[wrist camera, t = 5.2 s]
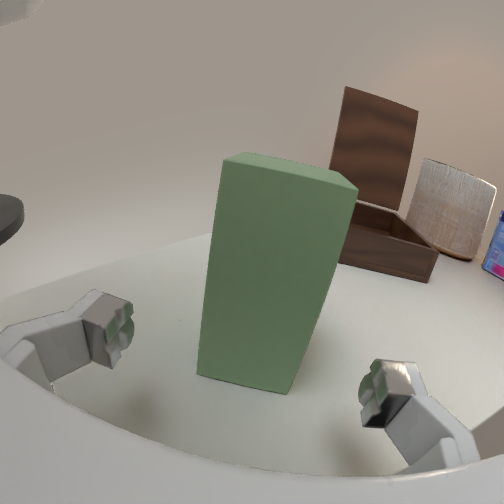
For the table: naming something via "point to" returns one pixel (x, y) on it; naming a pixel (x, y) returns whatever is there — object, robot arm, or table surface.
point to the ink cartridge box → (496, 251)
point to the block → (270, 267)
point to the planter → (450, 209)
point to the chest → (387, 245)
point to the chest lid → (374, 146)
